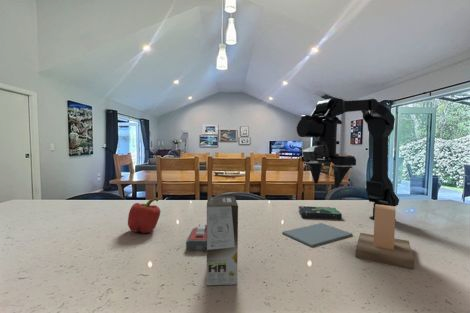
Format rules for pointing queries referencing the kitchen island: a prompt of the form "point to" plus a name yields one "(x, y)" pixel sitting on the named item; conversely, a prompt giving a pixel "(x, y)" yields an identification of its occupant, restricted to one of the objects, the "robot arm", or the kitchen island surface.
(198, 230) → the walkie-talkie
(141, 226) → the vegetable
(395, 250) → the plate
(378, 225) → the terracotta block
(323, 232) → the slate grey mat
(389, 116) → the robot arm
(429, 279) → the kitchen island surface
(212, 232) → the coffee box
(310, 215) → the disk drive
